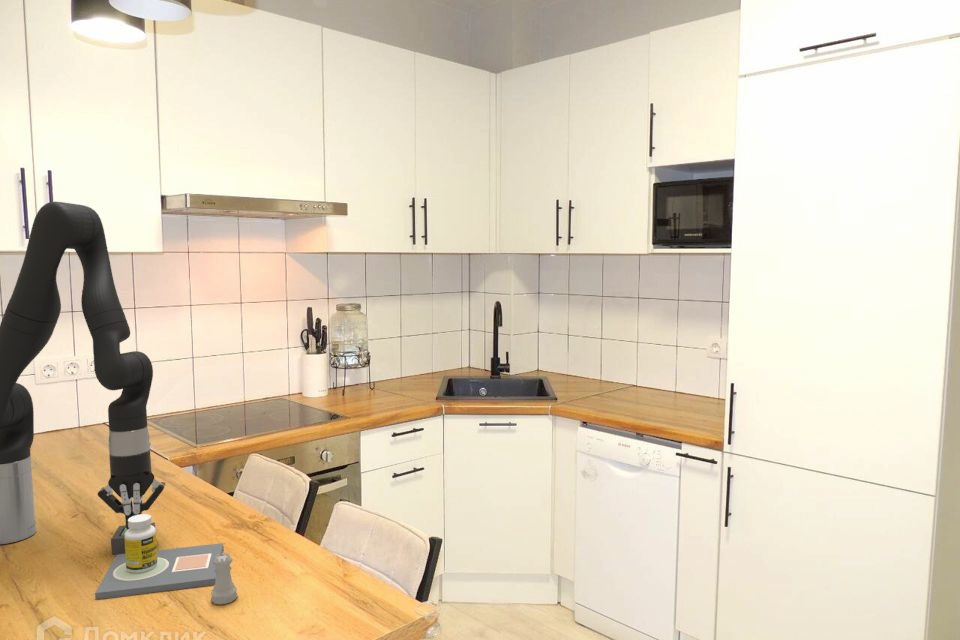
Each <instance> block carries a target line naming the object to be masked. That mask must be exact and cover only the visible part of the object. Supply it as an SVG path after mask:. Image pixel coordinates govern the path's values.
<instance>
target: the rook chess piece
mask: <svg viewBox="0 0 960 640" xmlns="http://www.w3.org/2000/svg"><path fill="white" fill-rule="evenodd" d="M232 562H233V558H232V557H231V554H230V553H229V552H226V553H225V552H223V553H222V556H220V554H218V555H217V556H215V560H214V561H213V564H214V565H215V566H216V569H215V572H216V581H215V585H213V587H212V590H211V593H210V596H211V598H210V601H211V602H212V603H213V604H214V605H218V606H223V605H227V604H231V603H233V602H234V601H235V600H236V598H237V597H238V592H237V590H238V589H237V587H236V585H235V584H234V582H233V579H232V573H231V570H232V567H231V564H232Z"/></svg>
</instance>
